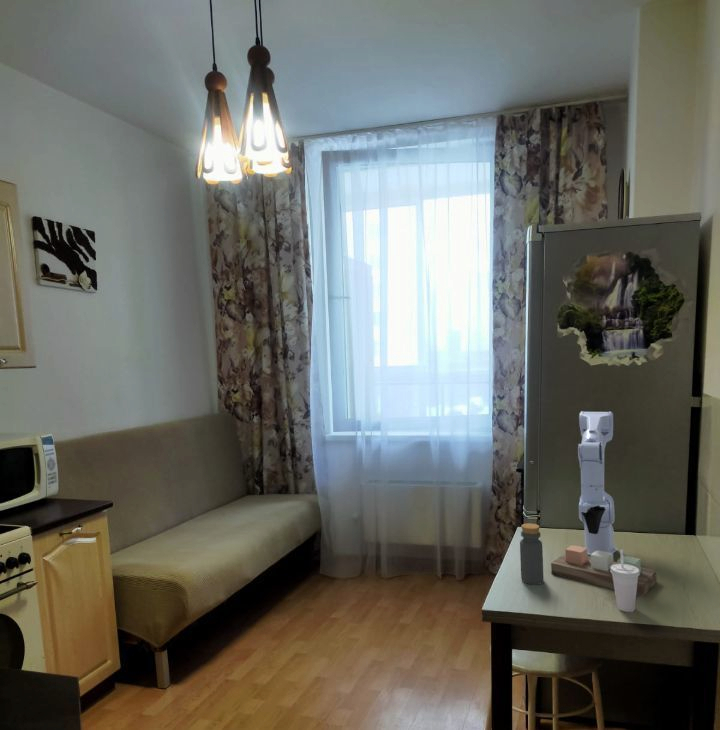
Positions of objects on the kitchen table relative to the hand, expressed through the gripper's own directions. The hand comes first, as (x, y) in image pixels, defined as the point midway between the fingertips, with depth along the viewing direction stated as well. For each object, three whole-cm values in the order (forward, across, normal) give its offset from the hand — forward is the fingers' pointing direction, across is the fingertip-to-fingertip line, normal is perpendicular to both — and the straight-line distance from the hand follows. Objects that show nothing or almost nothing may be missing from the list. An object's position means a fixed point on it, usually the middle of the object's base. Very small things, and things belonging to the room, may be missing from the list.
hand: (593, 533), depth 160 cm
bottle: (+11, -17, +10) cm, 23 cm away
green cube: (+8, -4, -11) cm, 14 cm away
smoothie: (+11, -19, -15) cm, 27 cm away
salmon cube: (+8, -4, +3) cm, 10 cm away
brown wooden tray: (+11, -4, -4) cm, 12 cm away
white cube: (+8, -4, -4) cm, 10 cm away
